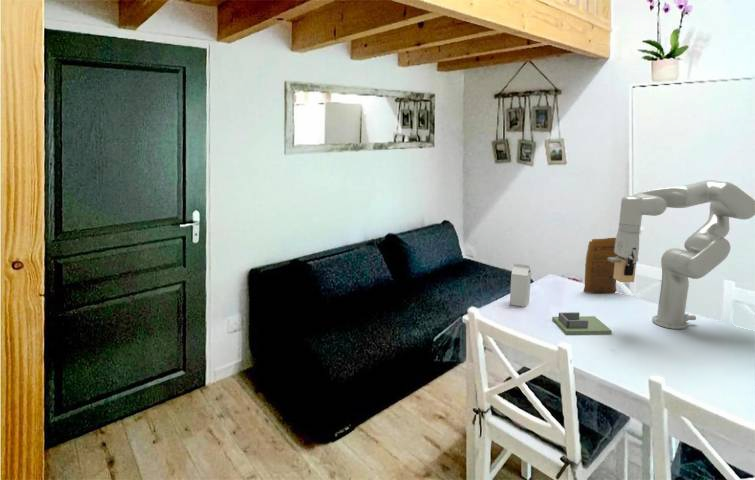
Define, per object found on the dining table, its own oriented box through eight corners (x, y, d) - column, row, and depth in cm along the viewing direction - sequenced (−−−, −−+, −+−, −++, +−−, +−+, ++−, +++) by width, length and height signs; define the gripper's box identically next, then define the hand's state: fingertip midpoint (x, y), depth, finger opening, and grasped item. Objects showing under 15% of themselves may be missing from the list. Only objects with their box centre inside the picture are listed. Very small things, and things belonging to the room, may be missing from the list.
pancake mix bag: (623, 294, 234) (629, 238, 228) (584, 294, 234) (589, 238, 228) (616, 289, 241) (622, 235, 235) (578, 290, 241) (583, 235, 235)
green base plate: (594, 319, 203) (595, 309, 202) (611, 334, 189) (612, 323, 188) (552, 320, 203) (552, 310, 202) (565, 334, 189) (566, 323, 188)
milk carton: (525, 307, 218) (527, 267, 214) (509, 304, 222) (511, 265, 217) (529, 302, 224) (531, 263, 220) (513, 300, 227) (516, 261, 223)
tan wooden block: (626, 277, 193) (629, 256, 191) (634, 282, 187) (636, 259, 185) (604, 278, 193) (606, 256, 191) (611, 282, 187) (613, 260, 185)
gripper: (609, 224, 194) (604, 267, 198) (631, 232, 177) (626, 279, 181) (627, 223, 194) (622, 266, 198) (651, 232, 177) (645, 279, 181)
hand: (624, 272), depth 189 cm, fingers closed on tan wooden block, 5 cm apart
